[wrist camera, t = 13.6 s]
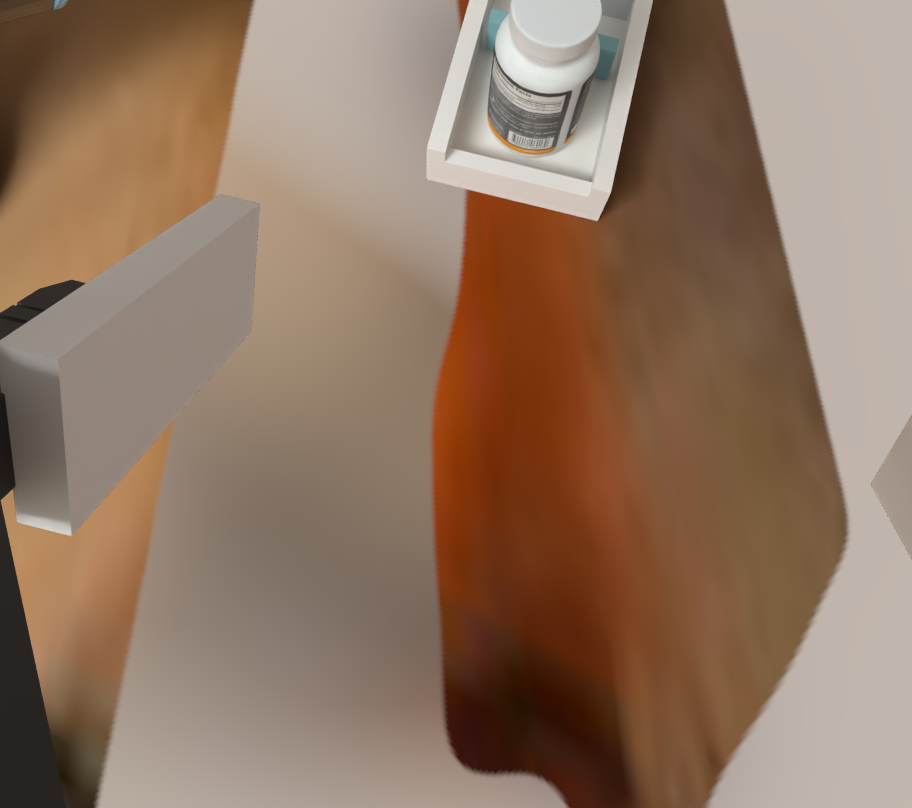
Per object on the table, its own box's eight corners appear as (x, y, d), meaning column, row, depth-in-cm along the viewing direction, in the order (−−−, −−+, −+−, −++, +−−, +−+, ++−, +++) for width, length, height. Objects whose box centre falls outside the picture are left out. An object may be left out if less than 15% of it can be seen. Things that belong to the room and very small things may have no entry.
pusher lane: (485, -27, 53) (491, -91, 48) (644, 11, 52) (667, -49, 48) (426, 179, 49) (427, 133, 44) (597, 221, 49) (616, 179, 44)
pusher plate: (495, 11, 50) (499, -19, 48) (615, 40, 50) (625, 12, 48) (485, 49, 50) (488, 21, 47) (607, 79, 50) (616, 52, 47)
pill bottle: (532, 66, 50) (557, -61, 40) (595, 125, 49) (636, 10, 39) (466, 117, 49) (477, 0, 39) (529, 179, 48) (556, 75, 38)
